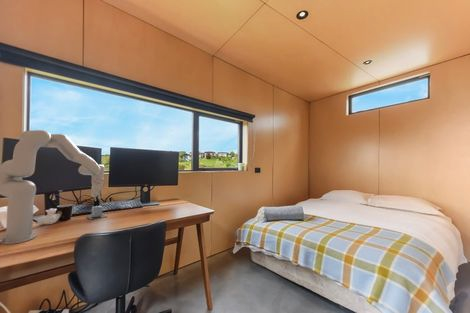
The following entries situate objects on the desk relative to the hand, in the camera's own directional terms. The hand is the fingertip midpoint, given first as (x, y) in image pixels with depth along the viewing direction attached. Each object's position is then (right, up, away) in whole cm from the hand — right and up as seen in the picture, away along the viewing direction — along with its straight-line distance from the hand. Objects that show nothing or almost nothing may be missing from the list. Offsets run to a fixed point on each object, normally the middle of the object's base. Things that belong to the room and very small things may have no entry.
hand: (96, 206), depth 147 cm
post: (0, -8, 0) cm, 8 cm away
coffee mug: (-19, -8, -7) cm, 21 cm away
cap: (0, -7, 0) cm, 7 cm away
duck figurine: (-20, -8, -16) cm, 27 cm away
